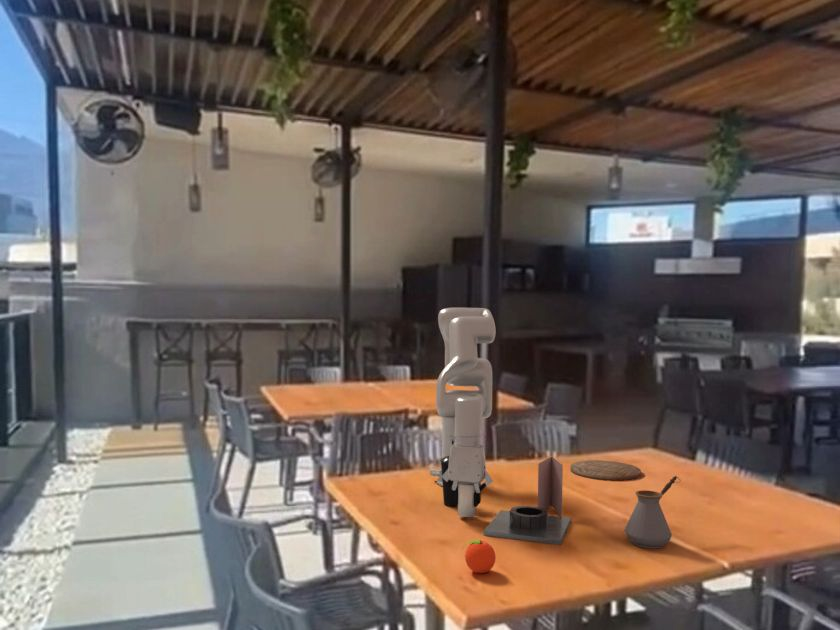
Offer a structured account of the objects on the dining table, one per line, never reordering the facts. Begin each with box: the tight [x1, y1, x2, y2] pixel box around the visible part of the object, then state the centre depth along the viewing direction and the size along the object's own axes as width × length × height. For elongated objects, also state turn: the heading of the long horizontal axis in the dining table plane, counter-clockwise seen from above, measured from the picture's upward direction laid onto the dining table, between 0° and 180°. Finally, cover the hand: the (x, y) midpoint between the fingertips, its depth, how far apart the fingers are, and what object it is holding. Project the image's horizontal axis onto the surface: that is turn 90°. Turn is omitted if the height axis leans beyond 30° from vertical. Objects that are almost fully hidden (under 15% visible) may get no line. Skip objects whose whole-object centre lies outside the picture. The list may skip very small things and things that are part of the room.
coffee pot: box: [624, 475, 682, 549], centre depth 183 cm, size 21×12×15 cm, turn 134°
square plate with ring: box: [483, 505, 572, 546], centre depth 190 cm, size 20×20×5 cm
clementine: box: [461, 540, 497, 574], centre depth 159 cm, size 8×7×7 cm
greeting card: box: [537, 456, 564, 517], centre depth 206 cm, size 11×7×15 cm, turn 150°
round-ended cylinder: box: [457, 482, 477, 518], centre depth 199 cm, size 5×5×10 cm
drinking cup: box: [439, 440, 458, 508], centre depth 212 cm, size 8×8×20 cm
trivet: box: [570, 459, 642, 482], centre depth 257 cm, size 25×25×2 cm
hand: (466, 503), depth 199 cm, fingers closed on round-ended cylinder, 4 cm apart
